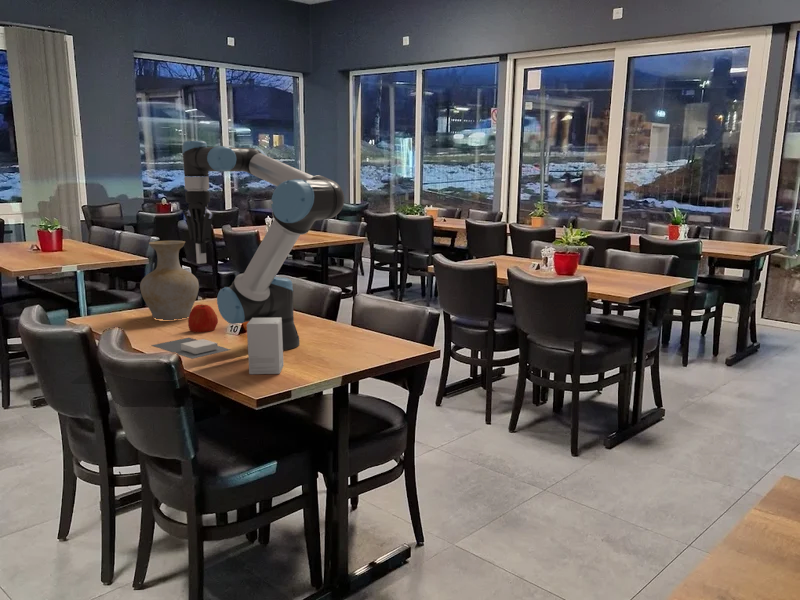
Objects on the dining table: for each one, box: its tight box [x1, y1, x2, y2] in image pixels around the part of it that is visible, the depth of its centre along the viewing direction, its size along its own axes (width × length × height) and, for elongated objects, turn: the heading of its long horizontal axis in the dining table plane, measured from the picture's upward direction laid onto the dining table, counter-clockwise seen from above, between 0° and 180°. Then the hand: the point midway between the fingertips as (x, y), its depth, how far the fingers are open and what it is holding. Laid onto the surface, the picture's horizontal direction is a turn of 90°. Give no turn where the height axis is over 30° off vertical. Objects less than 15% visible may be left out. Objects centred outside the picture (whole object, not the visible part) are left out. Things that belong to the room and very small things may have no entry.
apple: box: [187, 304, 219, 333], centre depth 239 cm, size 10×10×10 cm
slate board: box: [151, 337, 232, 360], centre depth 215 cm, size 24×14×1 cm, turn 49°
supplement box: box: [246, 317, 284, 375], centre depth 193 cm, size 9×9×15 cm
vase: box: [139, 240, 200, 320], centre depth 261 cm, size 22×22×30 cm
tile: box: [181, 338, 219, 354], centre depth 211 cm, size 2×8×8 cm
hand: (201, 263), depth 218 cm, fingers closed
